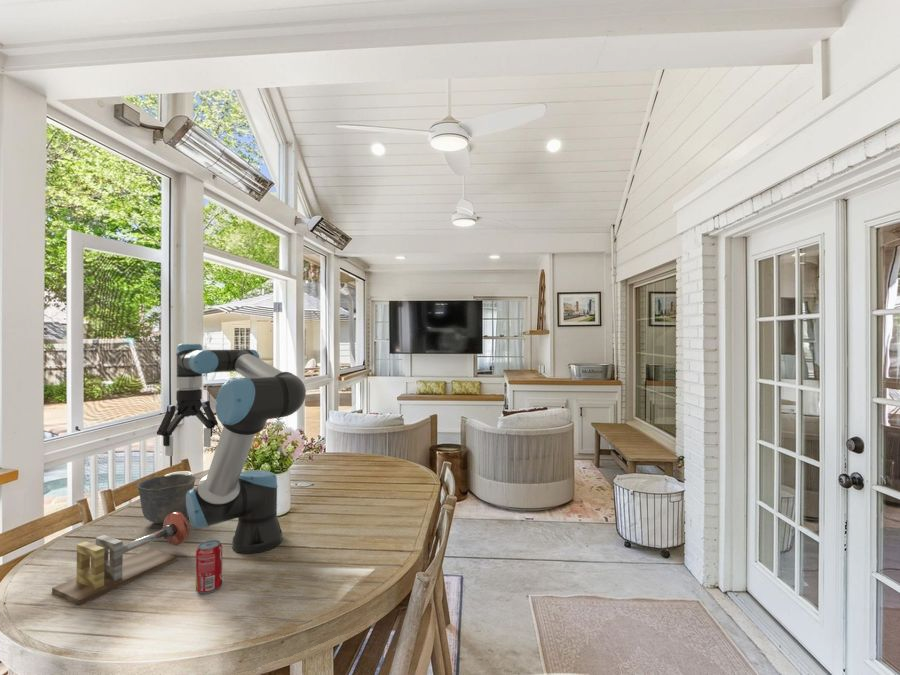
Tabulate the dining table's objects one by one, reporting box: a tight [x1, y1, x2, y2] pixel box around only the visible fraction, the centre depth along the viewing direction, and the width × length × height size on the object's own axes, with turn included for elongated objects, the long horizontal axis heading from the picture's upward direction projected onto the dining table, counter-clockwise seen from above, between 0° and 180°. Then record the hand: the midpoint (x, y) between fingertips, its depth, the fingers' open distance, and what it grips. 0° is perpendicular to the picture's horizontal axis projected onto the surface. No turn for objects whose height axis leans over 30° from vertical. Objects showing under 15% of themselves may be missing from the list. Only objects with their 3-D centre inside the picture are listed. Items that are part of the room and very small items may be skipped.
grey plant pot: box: [136, 474, 196, 525], centre depth 164 cm, size 18×18×15 cm
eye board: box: [51, 534, 178, 606], centre depth 126 cm, size 13×25×11 cm, turn 155°
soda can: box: [195, 539, 223, 595], centre depth 120 cm, size 6×6×12 cm
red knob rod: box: [123, 511, 190, 554], centre depth 134 cm, size 10×17×10 cm, turn 155°
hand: (188, 451), depth 153 cm, fingers open, 13 cm apart
